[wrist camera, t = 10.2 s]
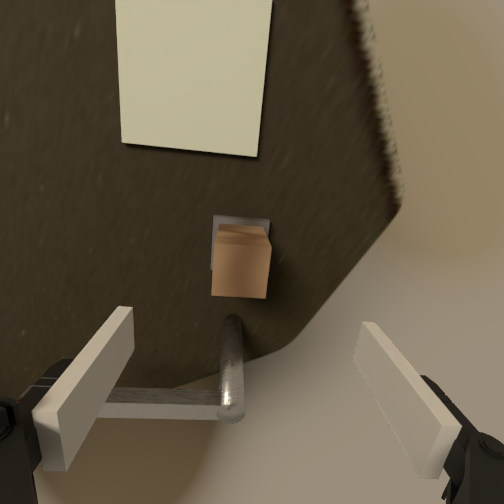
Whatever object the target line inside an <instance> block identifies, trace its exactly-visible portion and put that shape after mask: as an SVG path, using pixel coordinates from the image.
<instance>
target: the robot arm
mask: <svg viewBox="0 0 504 504" xmlns="http://www.w3.org/2000/svg"><path fill="white" fill-rule="evenodd" d="M133 351H134V328H133V307H122V306H118V307H117V308H116V310H115V311H114V312H113V313H112V315H111V316H110V317H109V318H108V319H107V321H106V322H105V323H104V324H103V325H102V327H101V328H100V329H99V330H98V331H97V333H96V334H95V335H94V336H93V338H92V339H91V340H90V341H89V342H88V344H87V345H86V346H85V347H84V348H83V350H82V351H81V352H80V353H79V354H78V356H77V357H76V358H75V359H62V360H60V361H59V362H57V363H56V364H54V365H53V366H51V367H50V368H49V369H48V370H47V371H46V372H45V373H44V374H43V376H42V377H41V379H39V380H38V381H37V382H36V383H35V384H34V387H32V388H31V389H30V390H29V391H28V392H27V393H26V394H25V395H24V396H23V397H22V399H21V400H20V401H19V402H18V403H17V402H16V400H14V399H11V398H0V504H38V500H37V494H36V488H35V481H34V476H33V472H34V470H35V469H36V467H37V466H38V464H39V462H40V461H41V462H42V466H43V471H49V472H66V471H67V470H68V468H69V466H70V464H71V462H72V461H73V459H74V457H75V455H76V453H77V452H78V450H79V448H80V446H81V444H82V443H83V441H84V439H85V437H86V435H87V434H88V432H89V430H90V428H91V426H92V424H93V423H94V421H95V419H96V417H97V416H98V414H99V412H100V410H101V408H102V407H103V405H104V403H105V401H106V399H107V398H108V396H109V394H110V392H111V390H112V388H113V387H114V385H115V383H116V381H117V379H118V378H119V376H120V374H121V372H122V370H123V369H124V367H125V365H126V363H127V361H128V360H129V358H130V356H131V354H132V352H133ZM353 362H354V364H355V366H356V368H357V369H358V371H359V373H360V375H361V376H362V378H363V379H364V382H365V383H366V385H367V387H368V389H369V390H370V392H371V394H372V396H373V397H374V399H375V401H376V403H377V404H378V406H379V408H380V410H381V411H382V413H383V415H384V417H385V418H386V420H387V422H388V424H389V426H390V427H391V429H392V431H393V433H394V434H395V436H396V438H397V440H398V441H399V443H400V445H401V447H402V449H403V450H404V452H405V454H406V455H407V457H408V459H409V461H410V462H411V464H412V466H413V468H414V470H415V471H416V473H417V475H418V476H419V478H420V479H438V478H439V476H440V474H441V471H442V469H443V468H444V469H445V471H446V472H447V474H448V475H449V477H450V480H449V482H448V484H447V486H446V488H445V490H444V492H443V495H442V497H441V498H442V499H443V500H445V498H446V504H504V444H502V443H501V442H500V441H499V440H497V439H495V438H494V437H492V436H490V435H487V434H485V433H482V432H478V430H476V428H475V427H474V426H473V425H472V424H471V422H470V421H469V420H468V419H467V418H466V417H465V416H464V415H463V414H462V412H461V411H460V410H459V409H458V408H457V407H456V406H455V404H454V403H452V401H451V400H450V399H449V398H448V396H447V395H445V393H444V392H443V391H442V390H441V389H440V387H439V386H438V385H437V384H436V383H434V382H433V381H432V380H430V379H429V378H428V377H426V376H423V375H419V374H418V373H417V372H416V371H415V370H414V368H413V367H412V366H411V365H410V364H409V363H408V361H407V360H406V359H405V358H404V357H403V355H402V354H401V353H400V352H399V351H398V349H397V348H396V347H395V346H394V345H393V343H392V342H391V341H390V340H389V339H388V337H387V336H386V335H385V334H384V333H383V331H382V330H380V328H379V327H378V325H377V324H376V323H375V322H362V325H361V329H360V333H359V337H358V341H357V344H356V348H355V352H354V356H353ZM446 496H447V497H446Z"/></svg>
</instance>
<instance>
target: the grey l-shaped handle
mask: <svg viewBox="0 0 504 504" xmlns="http://www.w3.org/2000/svg"><path fill="white" fill-rule="evenodd" d="M32 387H34V385H30V386H29V387H28V388H27V389H26V390H25V391H24V393H23V394H22V395H21V396H20V397H19V398H18V399H17V400H16V402H17V403H18V402H19V401H20V400H21V399H22V397H23V396H24V395H25V394H26V393H27V392H28V391H29V390H30V389H31V388H32ZM244 415H245V404H244V376H243V349H242V322H241V319H240V317H239V316H237V315H228V316H227V317H225V319H224V322H223V335H222V348H221V361H220V375H219V388H218V390H189V389H188V390H187V389H157V388H125V387H113V388H112V390H111V392H110V394H109V396H108V398H107V399H106V401H105V403H104V405H103V407H102V408H101V410H100V412H99V414H98V416H97V417H105V418H108V417H109V418H150V419H196V420H197V419H198V420H220V421H222V422H224V423H227V424H233V423H237V422H239V421H240V420H242V419H243V417H244Z"/></svg>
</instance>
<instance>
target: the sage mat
mask: <svg viewBox="0 0 504 504" xmlns="http://www.w3.org/2000/svg"><path fill="white" fill-rule="evenodd" d="M115 2H116V24H117V46H118V68H119V90H120V111H121V133H122V143H131V144H140V145H150V146H159V147H168V148H178V149H187V150H197V151H206V152H215V153H225V154H234V155H244V156H253V157H257V149H258V139H259V129H260V119H261V109H262V98H263V88H264V78H265V68H266V58H267V48H268V38H269V28H270V18H271V7H272V0H115Z"/></svg>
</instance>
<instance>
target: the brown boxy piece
mask: <svg viewBox="0 0 504 504" xmlns="http://www.w3.org/2000/svg"><path fill="white" fill-rule="evenodd" d="M269 225H270V221H269V219H257V218H246V217H234V216H222V215H214V217H213V235H212V254H211V270H213V277H212V295H215V296H232V297H248V298H266V290H267V282H268V274H269V266H270V258H271V250H272V247H271V244H270V242H269V240H268V234H269Z"/></svg>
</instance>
